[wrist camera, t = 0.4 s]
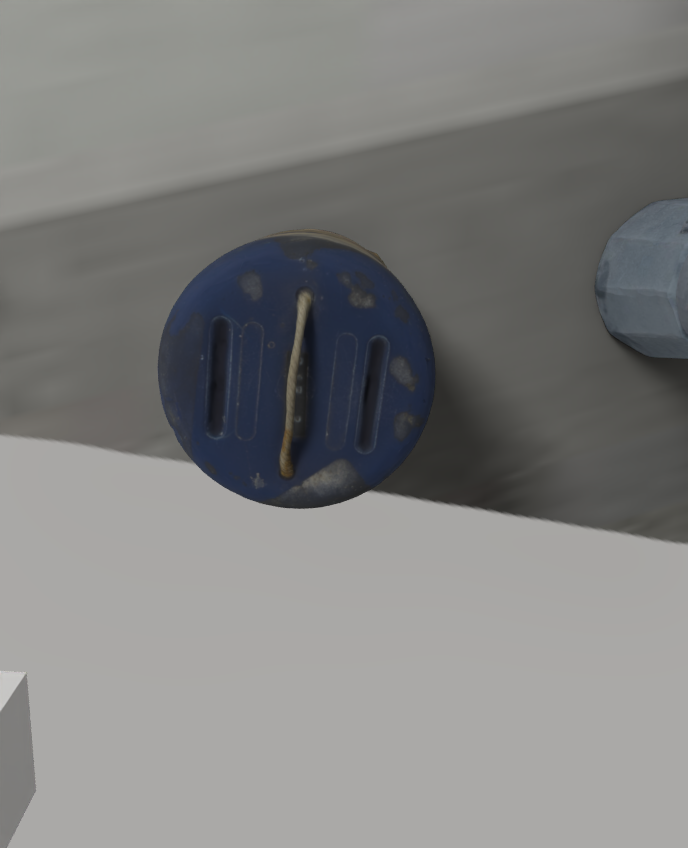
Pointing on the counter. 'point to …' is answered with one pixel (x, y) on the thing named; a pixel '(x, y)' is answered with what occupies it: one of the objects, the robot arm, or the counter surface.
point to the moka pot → (648, 280)
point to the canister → (297, 370)
